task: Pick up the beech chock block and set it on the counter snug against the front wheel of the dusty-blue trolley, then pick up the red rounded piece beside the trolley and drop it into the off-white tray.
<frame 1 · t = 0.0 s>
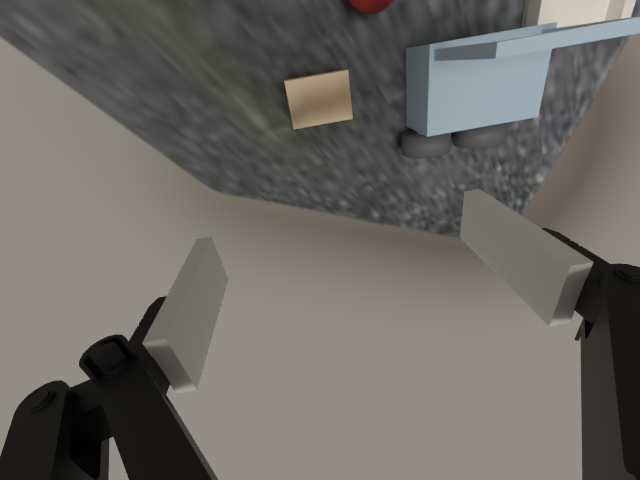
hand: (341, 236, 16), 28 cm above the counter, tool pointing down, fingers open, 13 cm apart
trolley: (456, 80, 38), on the counter
chock: (316, 96, 38), on the counter
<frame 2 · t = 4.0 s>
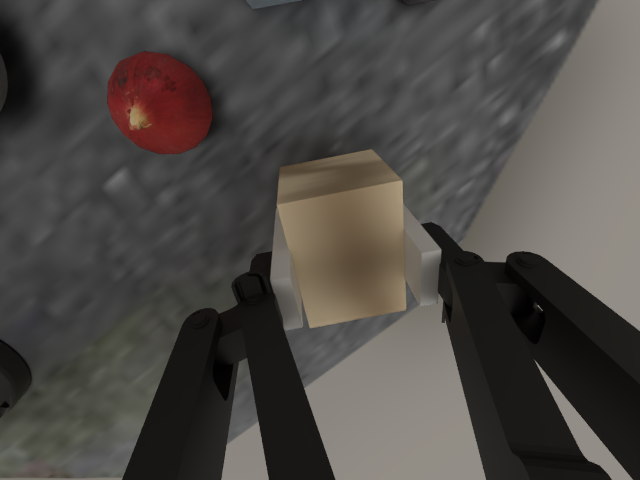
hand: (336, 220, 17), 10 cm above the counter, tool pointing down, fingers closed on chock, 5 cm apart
chock: (335, 215, 18), point 9 cm above the counter, touching gripper
red rounded piece: (183, 99, 22), on the counter
when the fingers open (0 cm above the counter, at t = 7.7 s): chock stays where it is, on the counter.
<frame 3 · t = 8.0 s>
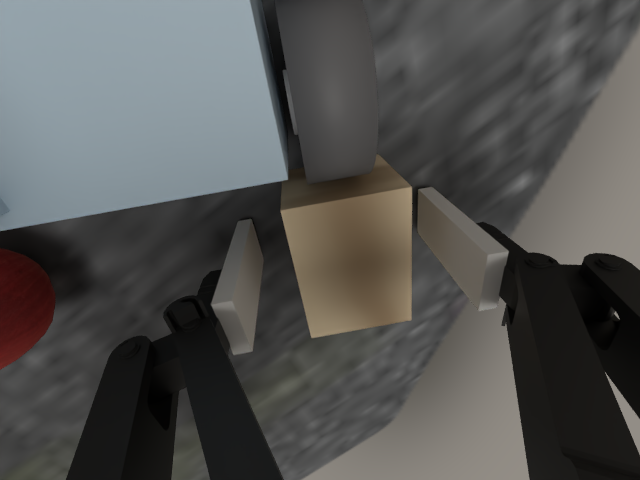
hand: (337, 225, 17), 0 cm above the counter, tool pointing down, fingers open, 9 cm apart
chock: (338, 221, 17), on the counter
red rounded piece: (32, 262, 17), on the counter
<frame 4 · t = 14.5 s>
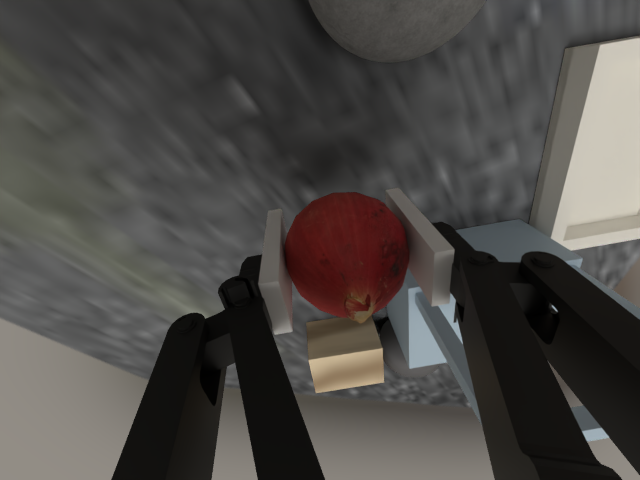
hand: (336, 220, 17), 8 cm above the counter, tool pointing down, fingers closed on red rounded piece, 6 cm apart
trolley: (448, 269, 30), on the counter
chock: (340, 333, 33), on the counter
red rounded piece: (334, 218, 18), point 8 cm above the counter, touching gripper
tray: (606, 147, 25), on the counter
when the fingers open (2 cm above the counter, at t = 19.3 s): red rounded piece drops 1 cm, resting on tray.
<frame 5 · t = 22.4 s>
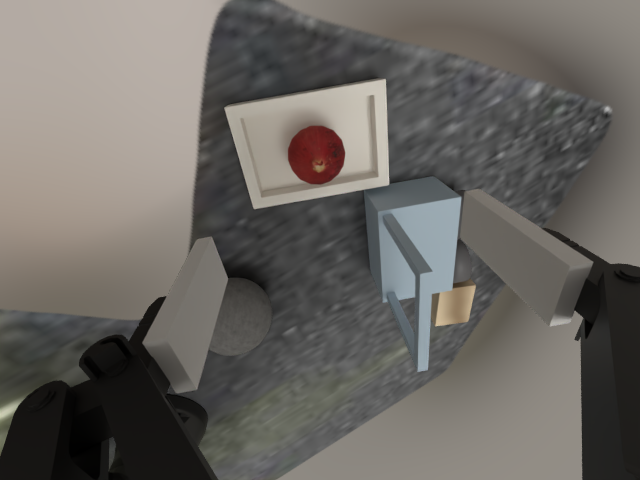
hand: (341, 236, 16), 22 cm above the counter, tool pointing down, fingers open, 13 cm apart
decorative ball: (239, 290, 44), on the counter
trolley: (399, 227, 41), on the counter
chock: (439, 284, 47), on the counter
red rounded piece: (313, 146, 34), point 1 cm above the counter, touching tray
tray: (312, 143, 34), on the counter
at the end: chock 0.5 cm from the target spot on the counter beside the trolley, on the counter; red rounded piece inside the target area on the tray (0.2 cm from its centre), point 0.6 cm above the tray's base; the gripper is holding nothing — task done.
